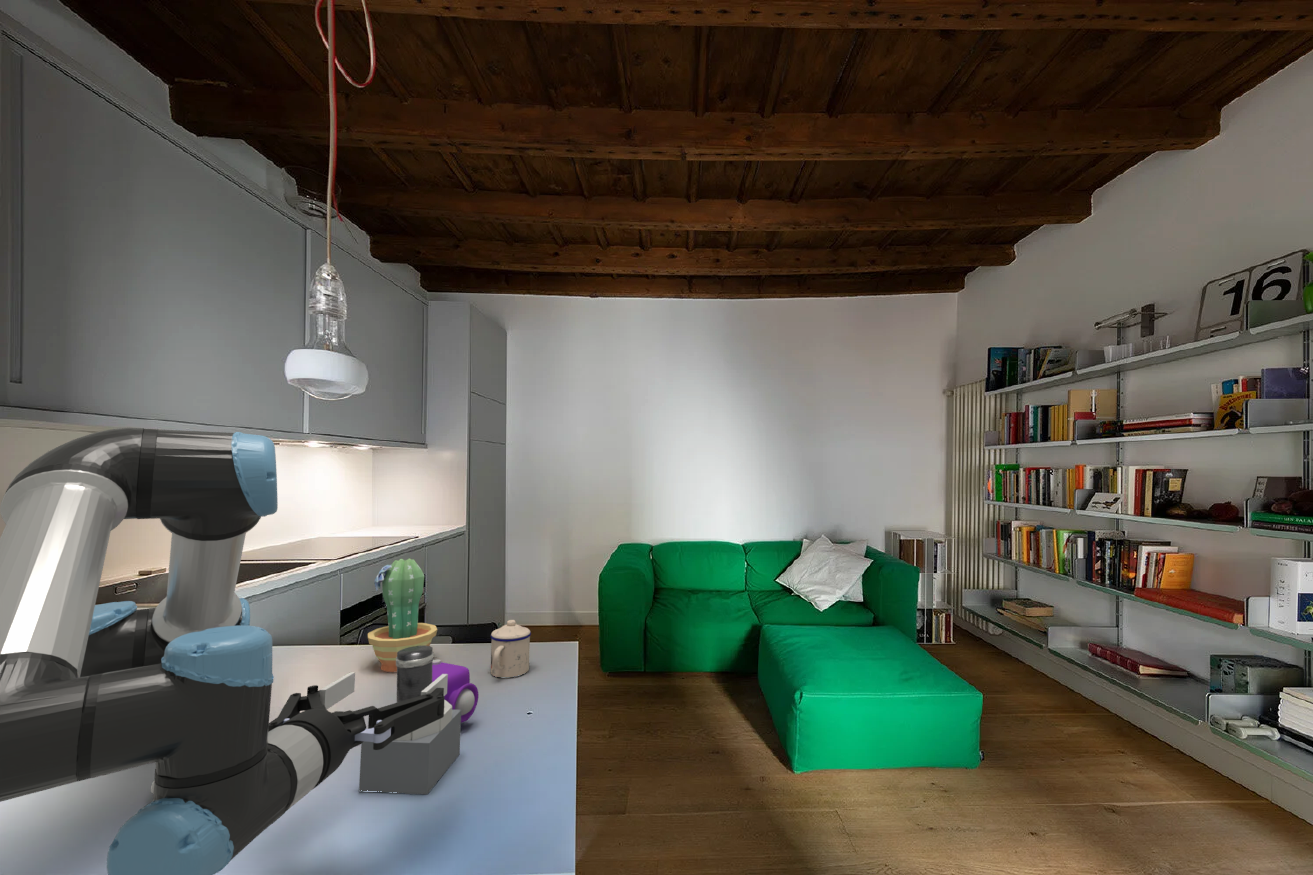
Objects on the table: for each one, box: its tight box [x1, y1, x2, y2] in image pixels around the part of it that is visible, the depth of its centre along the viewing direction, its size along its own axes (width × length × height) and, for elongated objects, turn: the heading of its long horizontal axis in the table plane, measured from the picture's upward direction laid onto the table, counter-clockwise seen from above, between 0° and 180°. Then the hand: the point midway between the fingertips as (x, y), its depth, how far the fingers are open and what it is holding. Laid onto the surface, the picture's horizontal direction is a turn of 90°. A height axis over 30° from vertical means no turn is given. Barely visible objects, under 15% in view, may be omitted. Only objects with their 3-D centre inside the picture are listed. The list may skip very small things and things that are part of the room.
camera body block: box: [358, 700, 462, 795], centre depth 81 cm, size 10×11×9 cm
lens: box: [396, 645, 435, 703], centre depth 82 cm, size 5×5×11 cm
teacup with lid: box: [490, 619, 532, 678], centre depth 122 cm, size 12×9×12 cm
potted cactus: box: [367, 558, 438, 673], centre depth 128 cm, size 15×15×25 cm
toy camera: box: [432, 659, 479, 724], centre depth 97 cm, size 11×14×10 cm
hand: (398, 682), depth 76 cm, fingers open, 13 cm apart
